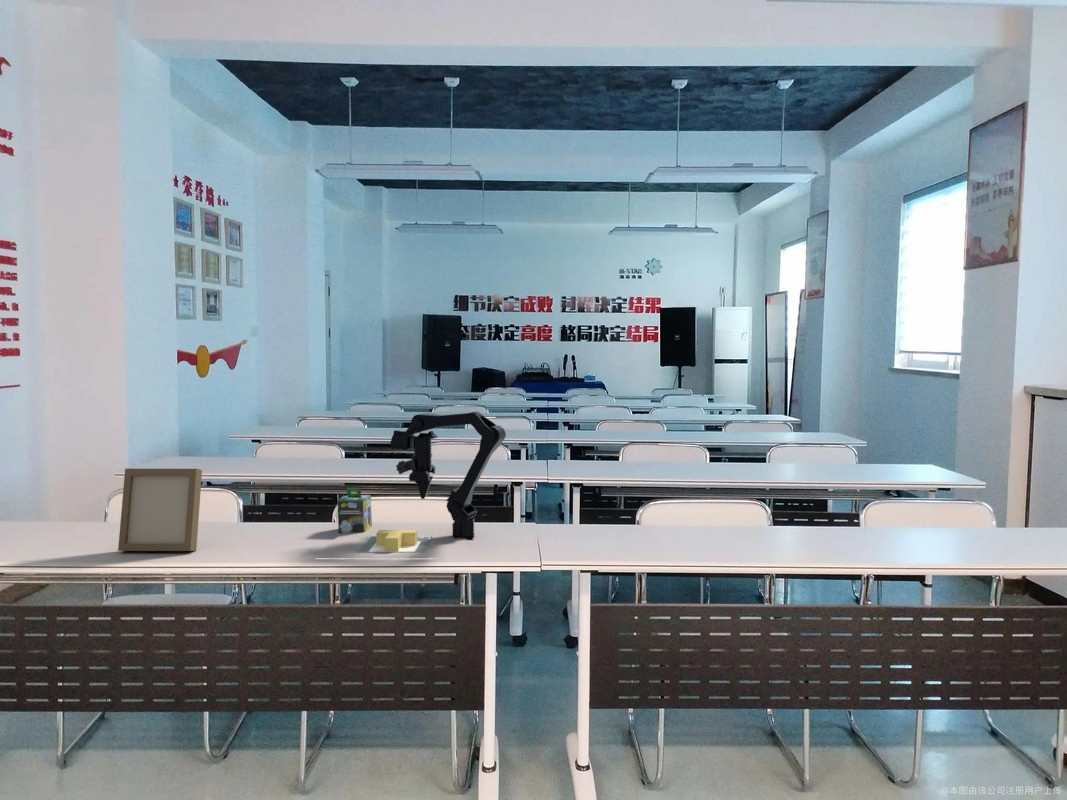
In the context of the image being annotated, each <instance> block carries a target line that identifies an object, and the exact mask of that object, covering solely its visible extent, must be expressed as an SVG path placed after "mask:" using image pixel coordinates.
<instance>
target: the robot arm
mask: <svg viewBox="0 0 1067 800" xmlns="http://www.w3.org/2000/svg"><path fill="white" fill-rule="evenodd" d="M465 425H471V426H472V427H473V429H474V430H475V431H476V433H478V434H479V436H481V438H480V442H479V448H478V449H479V450H478V452H477V453H476V456H475V457H474V460H473V461H472V464H471V466H470V467H469V469H468V471H467V473H466V475H465V477H464V479H463V481H462V483H461V485H460V486H458V487H455V488H453V489H451V492H450V495H449V496H448V498H447V499H446V502H447V503H446V509H447V511H448V512H449V514H450V516H451V519H452V521H453V523H452V537H453V539H466V540H468V539H467V538H470V539H469V540H472V539H471V538H474V539H475V536H476V533H475V517H476V516H477V512H478V510H477V509H476V507H474V506H473V504H472V500H473V494H474V489H475V488H476V486H477V485H478V483H479V480H480V478H481V476H482V474H483V472H484V470H485V469H486V467H487V464H488V462H489V460H490V459H491V457H492V455H493V453H494V452H496V450H497V449H498V448H499V447H500V445H501V444H502V443H503V441H504V440H505V439H506V437H507V436H506V434H507V433H506V431H505V429H504V428H503V427H502V426H501V425H497V424H496V423H495V422H493V421H492V420H490V419H489V418H487V417H486V416H485V415H483V414H482V413H481V412H480V411H471V412H463V413H452V414H442V415H441V414H438V413H437V414H436V413H427V412H424V413H418V414H415V415H413V417H412V418H411V421H410V424H409V426H408V428H407V429H406V430H400V429H396V430H393V434H392V435H391V440H390V448H391V450H392V451H395V452H397V451H399V452H410V451H412V449H413V455H412V456H411V459H409V460H408V459H407V460H405V461H404V460H401V461H398V464H396V466H395V467H396V471H397V472H398V475H402V474H404V473H406V472H408V471H411V473H410V474H408V481H409V482H415V484H416V485H417V487H418V488H417V489H418V491H419V496H420V499H421V500H424V499H426V496H427V493H428V490H429V488H430V485H431V484H432V480H433V478H434V476H432V475H431V474H430V473H432V474H433V475H435V474H436V466H435V465H434V464H432V458H433V453H432V439H436V438H438V434H435V432H434V431H433V429H436V428H440V427H452V426H453V427H454V426H465ZM426 431H428V432H426ZM415 434H418V435H415ZM474 535H475V536H474Z"/></svg>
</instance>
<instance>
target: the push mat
mask: <svg viewBox="0 0 1067 800" xmlns="http://www.w3.org/2000/svg"><path fill="white" fill-rule="evenodd" d="M432 540H433V538H432V539H429V538H428V537H424V538H418V537H417V544H416V545H415V546H402V547H401V548H400V549H399V551H385V546H377V541H376V536H371V537H370V538H369V539H368V540H367V542H365V544H363V545H362V547H361V548H360V549H359V550H358V551H357V553H370V554H371V553H375V554H376V553H378V554H379V553H381V554H382V553H391V554H392V553H397V554H399V553H401V554H403V553H405V554H406V553H408V554H409V553H415V554H416V553H419V554H421V553H425V552H426V550H427V549H428V547H429V545H430V543H431V541H432Z"/></svg>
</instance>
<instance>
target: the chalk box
mask: <svg viewBox="0 0 1067 800" xmlns="http://www.w3.org/2000/svg"><path fill="white" fill-rule="evenodd" d="M352 492H356V494H352ZM361 493H362V492H361V488H360V487H347V488H346V494H347V495H345V496H341V497H340V498H339V499H338V500H337V522H338V523H337V524H338V526H337V527H338V533H339V532H343V533H365V532H367V531H368V530H370V529H371V528H372V527H373V518H372V495H371V494H361ZM371 526H372V527H371ZM370 527H371V528H370ZM369 528H370V529H369ZM366 530H367V531H366Z"/></svg>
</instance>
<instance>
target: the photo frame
mask: <svg viewBox="0 0 1067 800" xmlns="http://www.w3.org/2000/svg"><path fill="white" fill-rule="evenodd" d="M202 474H203V470H202V469H200V468H124V478H123V490H122V499H121V500H122V503H121V504H122V505H121V513H120V522H119V523H120V525H119V535H118V545H117V546H118V547H117V548H118V549H117V552H133V551H134V552H186V551H187V552H195V550H196V551H197V549H198V548H197V547H198V545H197V544H198V532H199V521H200V520H199V519H200V517H199V516H200V507H201V506H200V503H201V491H202V477H203V476H202Z"/></svg>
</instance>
